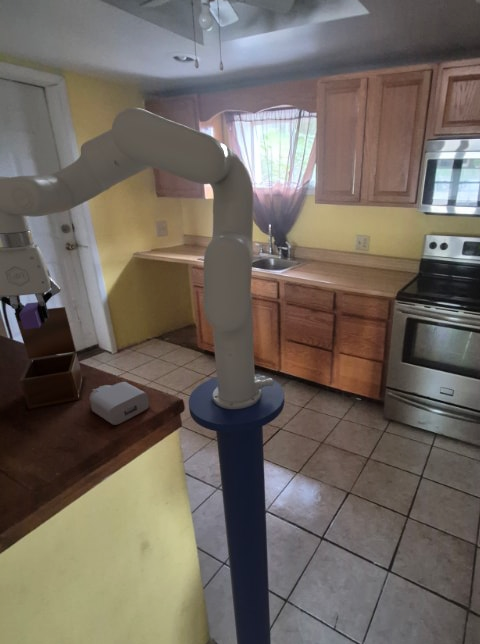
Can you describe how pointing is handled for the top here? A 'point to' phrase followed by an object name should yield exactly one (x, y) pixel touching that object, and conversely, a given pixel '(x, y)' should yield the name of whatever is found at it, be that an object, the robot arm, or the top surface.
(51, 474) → the top surface
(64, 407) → the top surface
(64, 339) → the lid
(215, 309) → the robot arm
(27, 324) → the purple rectangular block
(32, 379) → the chest
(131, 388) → the charger
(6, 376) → the top surface
